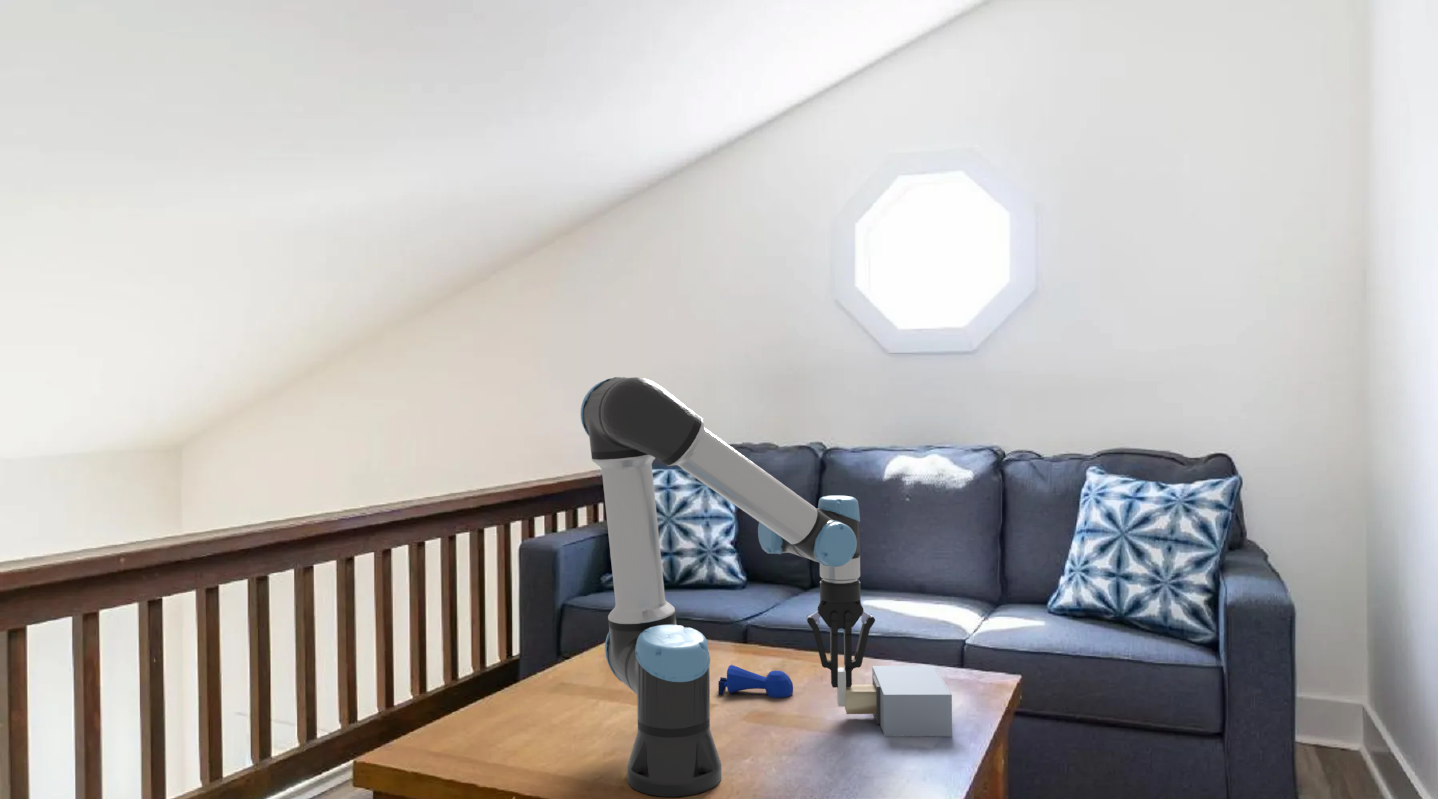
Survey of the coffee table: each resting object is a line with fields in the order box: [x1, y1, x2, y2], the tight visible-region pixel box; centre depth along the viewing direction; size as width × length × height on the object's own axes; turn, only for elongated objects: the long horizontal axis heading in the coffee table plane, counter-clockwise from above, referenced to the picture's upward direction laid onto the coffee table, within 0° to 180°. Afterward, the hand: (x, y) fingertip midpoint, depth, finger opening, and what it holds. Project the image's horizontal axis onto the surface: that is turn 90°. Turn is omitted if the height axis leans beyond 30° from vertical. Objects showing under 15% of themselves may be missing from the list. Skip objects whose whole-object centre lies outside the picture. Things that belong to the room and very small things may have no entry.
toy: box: [717, 664, 794, 699], centre depth 206 cm, size 7×6×15 cm
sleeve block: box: [871, 665, 953, 737], centre depth 189 cm, size 18×13×8 cm
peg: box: [844, 684, 877, 715], centre depth 189 cm, size 4×16×4 cm, turn 88°
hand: (841, 704), depth 190 cm, fingers closed
